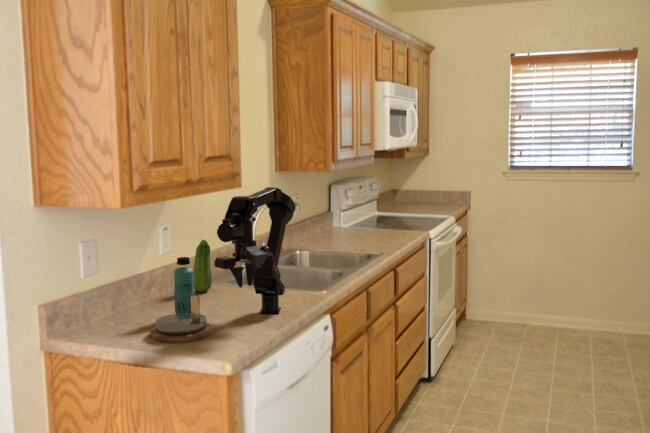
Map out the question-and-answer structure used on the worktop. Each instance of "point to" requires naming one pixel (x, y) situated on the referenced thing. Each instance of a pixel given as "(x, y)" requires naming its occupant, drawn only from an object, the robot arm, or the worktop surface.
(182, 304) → the beverage bottle
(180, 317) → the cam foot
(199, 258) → the vegetable
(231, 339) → the worktop surface
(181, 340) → the stand base
